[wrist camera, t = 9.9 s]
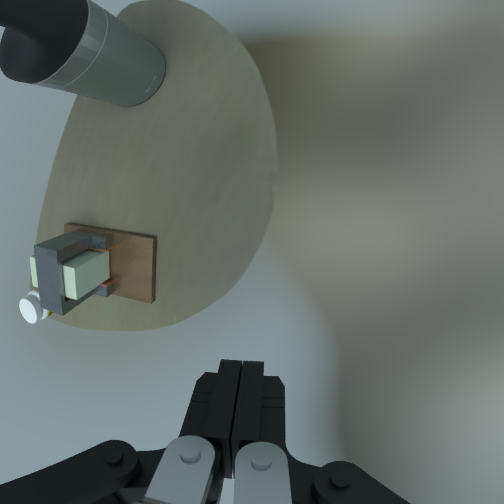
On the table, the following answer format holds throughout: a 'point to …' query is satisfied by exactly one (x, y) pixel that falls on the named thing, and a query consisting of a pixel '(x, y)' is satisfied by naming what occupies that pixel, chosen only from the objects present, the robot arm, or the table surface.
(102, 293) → the base
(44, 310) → the supplement bottle
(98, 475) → the robot arm
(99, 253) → the mint green block
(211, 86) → the table surface
